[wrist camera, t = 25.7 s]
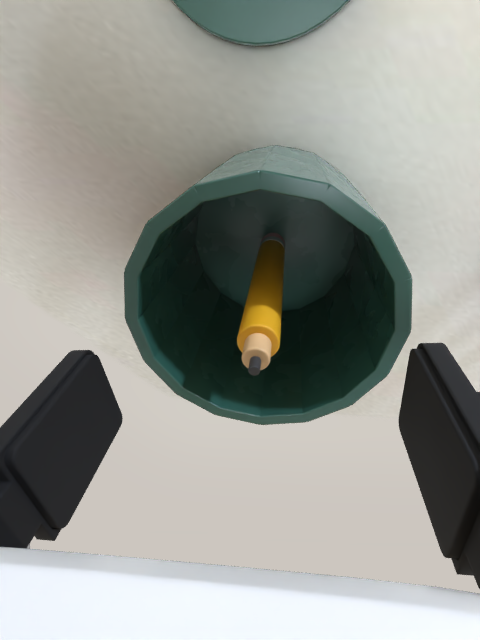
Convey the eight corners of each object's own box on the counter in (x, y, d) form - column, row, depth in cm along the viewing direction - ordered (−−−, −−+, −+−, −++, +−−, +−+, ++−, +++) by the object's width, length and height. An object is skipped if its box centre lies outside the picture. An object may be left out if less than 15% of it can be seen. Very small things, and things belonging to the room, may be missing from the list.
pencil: (257, 235, 22) (223, 355, 11) (282, 229, 22) (272, 347, 11) (263, 259, 23) (236, 392, 12) (287, 253, 22) (283, 387, 11)
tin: (156, 217, 23) (68, 284, 14) (304, 100, 18) (316, 87, 9) (251, 338, 27) (230, 450, 18) (391, 265, 22) (458, 367, 13)
